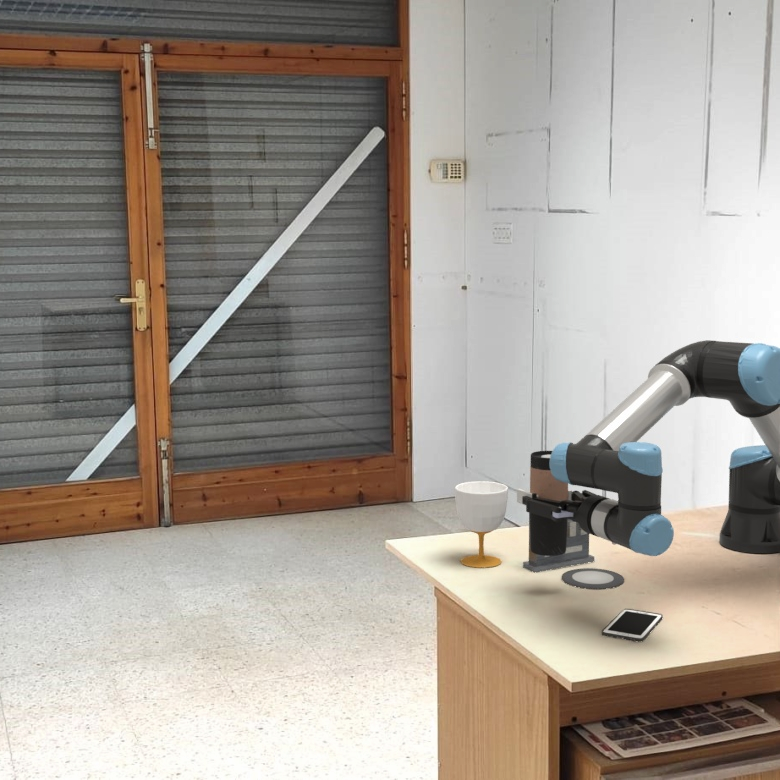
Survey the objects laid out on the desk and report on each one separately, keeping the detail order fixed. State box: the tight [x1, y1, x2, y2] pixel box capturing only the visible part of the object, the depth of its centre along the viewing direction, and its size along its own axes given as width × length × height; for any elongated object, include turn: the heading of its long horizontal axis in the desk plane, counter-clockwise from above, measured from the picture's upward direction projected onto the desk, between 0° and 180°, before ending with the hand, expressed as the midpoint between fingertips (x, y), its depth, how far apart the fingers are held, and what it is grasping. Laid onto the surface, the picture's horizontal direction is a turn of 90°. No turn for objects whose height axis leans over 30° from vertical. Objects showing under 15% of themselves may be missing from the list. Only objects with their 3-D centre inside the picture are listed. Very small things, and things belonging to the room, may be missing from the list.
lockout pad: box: [561, 567, 625, 590], centre depth 237 cm, size 13×13×1 cm
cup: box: [454, 480, 509, 569], centre depth 249 cm, size 12×12×17 cm
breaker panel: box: [522, 512, 595, 573], centre depth 246 cm, size 16×5×14 cm, turn 118°
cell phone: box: [601, 608, 664, 643], centre depth 210 cm, size 8×15×1 cm, turn 151°
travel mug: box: [529, 450, 569, 556], centre depth 227 cm, size 8×8×20 cm
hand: (535, 493), depth 231 cm, fingers closed on travel mug, 7 cm apart
